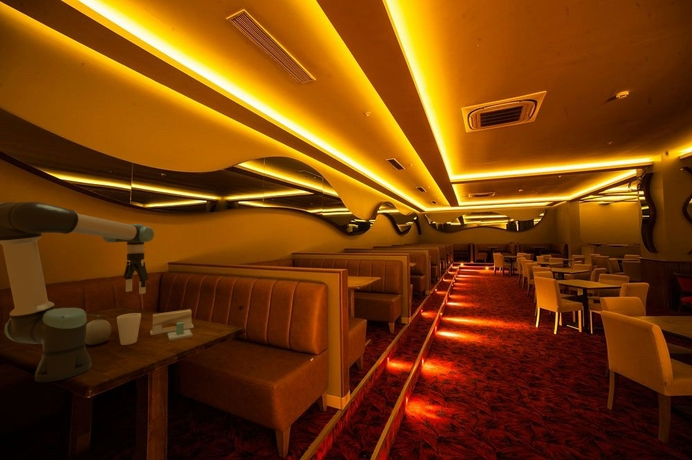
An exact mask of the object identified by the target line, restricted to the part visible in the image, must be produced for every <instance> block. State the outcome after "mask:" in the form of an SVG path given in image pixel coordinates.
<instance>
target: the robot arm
mask: <svg viewBox="0 0 692 460" xmlns="http://www.w3.org/2000/svg"><path fill="white" fill-rule="evenodd" d="M54 233H55V234H63V235H68V234H69V235H70V234H71V233H75V234H82V235H88V236H89V235H90V236H96V237H102V239H103V240H104V241H105V242H106V243H126V253H127V254H126V260H127V261H126V265H125V268H124V274H123V278H124V279H125V292H126V293H129V292H132V291H133V276H134V273H135V272H136V273H137V277H138V279H139V280H138V295H142V294H146V289H147V288H146V286H147V285H146V283H147V282H146V281H148V280H149V275H148V273H147V268H146V262H145V261H143V260H145V253H144V252H145V248H146V246H145V243H146V242H147V243H148V242H151V241H152V240H153V239H154V236H155V231H154V229H153V228H152V227H150V226H145V225H144V224H143V223H125V222H119V221H115V220H109V219H105V218H101V217H95V216H90V215H87V214H86V215H85V214H81V213H78V212H77V211H76V210H74V209H71V208H66V207H62V206H58V205H55V204H50V203H44V202H38V201H15V202H14V201H12V202H11V201H8V202H0V245H1V246H2V250H3V256H4V260H5V264H6V266H5V267H6V270H7V276H8V280H9V281H8V282H9V285H10V289H11V294H12V301H13V305H14V309H12V310H11V311H10V312H9V317H10V318H9V319H8V321H7V322H6V323H5V324H4V325H5V326H4V334H5V336H6V337H7V338H8V339H9V340H11V341H13V342H16V343H19V344H25V345H27V344H28V345H29V344H32V345H33V344H35V345H37V344H38V345H42V355H41V359H40V361H39V364H38V366H37V367H36V370H35V372H34V381H35V382H38V383H51V382H57V381H62V380H66V379H70V378H73V377H75V376H79V375H81V374H83V373H85V372H87V371H88V370H89V369H91V368H92V359H91V356H90V354H89V352H88V350H87V345H86V344H87V343H86V325H87V323H88V319H87V313H86V311H85V310H84V309H82V308H78V307H61V308H56V307H55V306H56V305H55V303H54V302H52V301H49V299H48V293H47V287H46V283H45V278H44V273H43V268H42V267H43V266H42V262H41V256H40V251H39V246H38V241H39V240H40V239H42V234H54ZM50 381H51V382H50Z"/></svg>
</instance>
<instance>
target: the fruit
mask: <svg viewBox="0 0 692 460" xmlns="http://www.w3.org/2000/svg"><path fill="white" fill-rule="evenodd" d="M87 316H88V317H89V316H91V317H96V319H94V320H91V321H89V322H87V323H86V344H87V345H91V346H96V345H100V344H102V343H104V342H106V341H107V340H108V339H109V338H110V335H111V333H112V326H111V324H110V323H109V321H107V320H105V319H100V317H106V318H108V319H109V320H111V318H110V316H107V315H103V314H93V313H92V314H87Z"/></svg>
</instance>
